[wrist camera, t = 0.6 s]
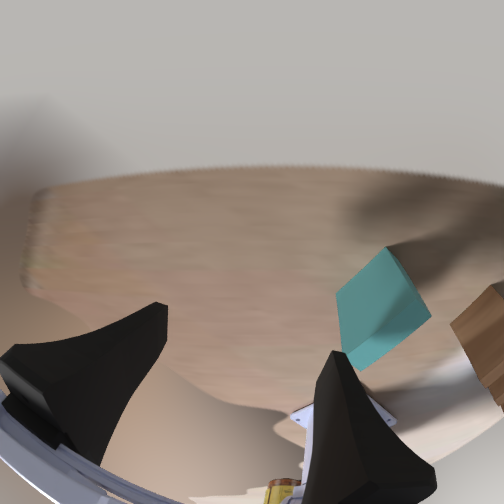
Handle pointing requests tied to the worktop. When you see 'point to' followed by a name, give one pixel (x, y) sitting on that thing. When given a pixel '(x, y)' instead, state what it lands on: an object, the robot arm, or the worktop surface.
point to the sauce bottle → (280, 490)
